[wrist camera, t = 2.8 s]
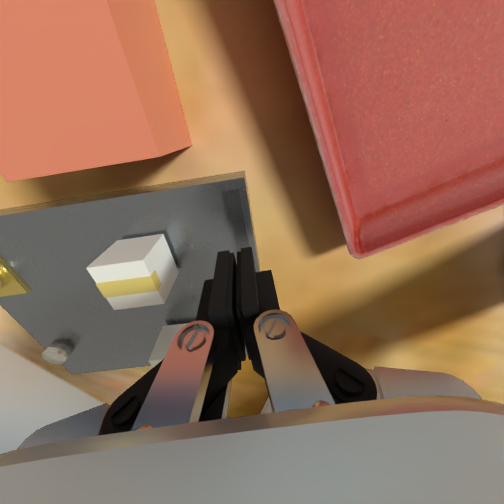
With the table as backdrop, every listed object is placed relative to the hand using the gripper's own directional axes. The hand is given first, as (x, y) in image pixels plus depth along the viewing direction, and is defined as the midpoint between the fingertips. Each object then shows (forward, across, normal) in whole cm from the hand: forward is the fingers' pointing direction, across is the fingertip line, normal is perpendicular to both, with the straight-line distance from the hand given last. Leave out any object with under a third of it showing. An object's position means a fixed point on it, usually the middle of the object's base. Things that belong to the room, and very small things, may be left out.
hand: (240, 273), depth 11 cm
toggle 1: (+4, +6, 0) cm, 7 cm away
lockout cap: (+6, +5, -9) cm, 12 cm away
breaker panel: (+6, +9, +4) cm, 12 cm away
